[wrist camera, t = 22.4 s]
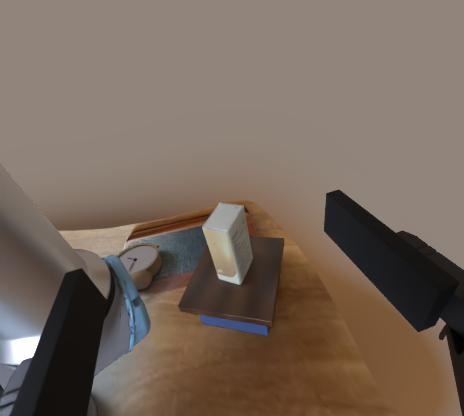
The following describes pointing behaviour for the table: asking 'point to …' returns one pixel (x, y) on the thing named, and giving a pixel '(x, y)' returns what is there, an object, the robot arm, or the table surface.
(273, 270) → the board
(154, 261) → the alarm clock
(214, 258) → the cosmetic box
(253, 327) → the blue box
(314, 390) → the table surface
